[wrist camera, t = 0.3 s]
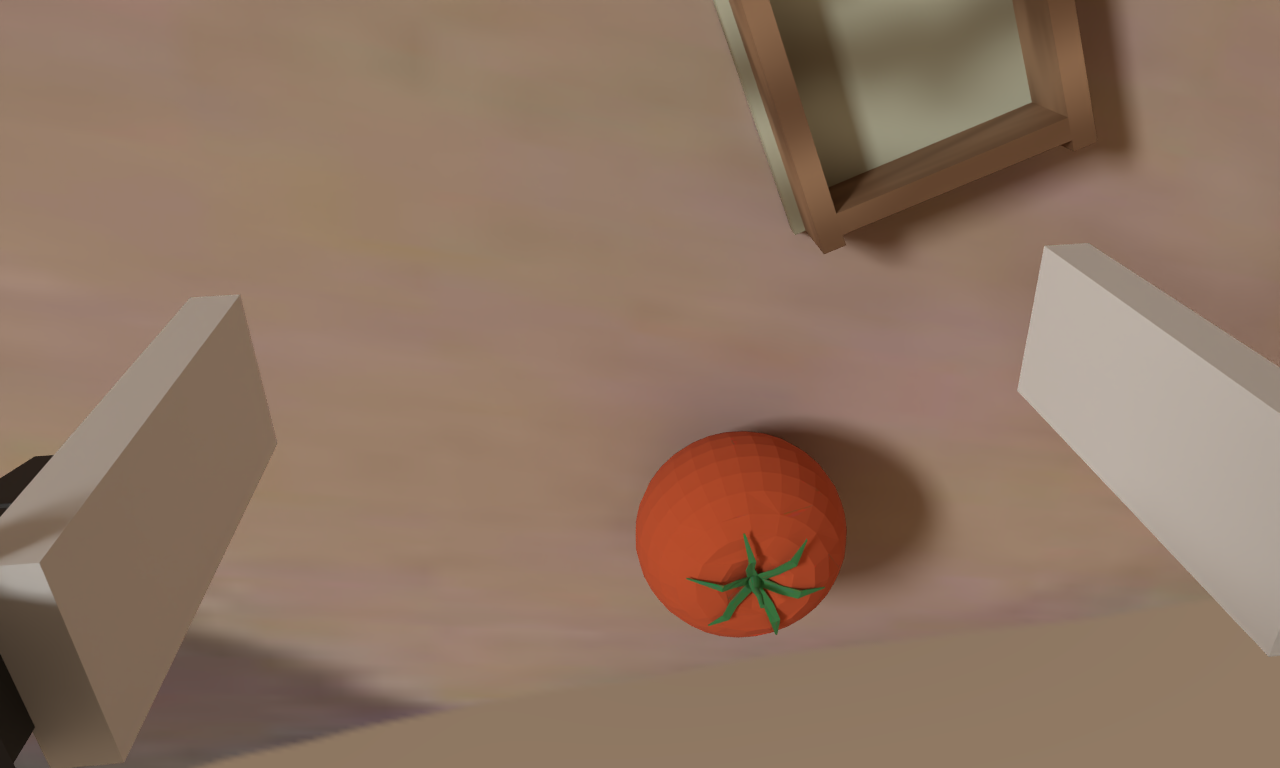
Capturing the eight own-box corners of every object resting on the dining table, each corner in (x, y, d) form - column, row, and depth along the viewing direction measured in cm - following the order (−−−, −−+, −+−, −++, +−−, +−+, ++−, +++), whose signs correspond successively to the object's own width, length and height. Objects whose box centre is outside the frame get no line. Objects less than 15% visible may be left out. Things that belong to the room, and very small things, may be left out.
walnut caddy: (693, -57, 37) (708, -52, 34) (1005, -199, 36) (1055, -209, 32) (791, 229, 43) (813, 258, 40) (1061, 116, 42) (1109, 136, 38)
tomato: (660, 578, 52) (683, 717, 43) (601, 431, 47) (614, 553, 39) (835, 524, 51) (895, 654, 43) (794, 369, 47) (852, 479, 38)
